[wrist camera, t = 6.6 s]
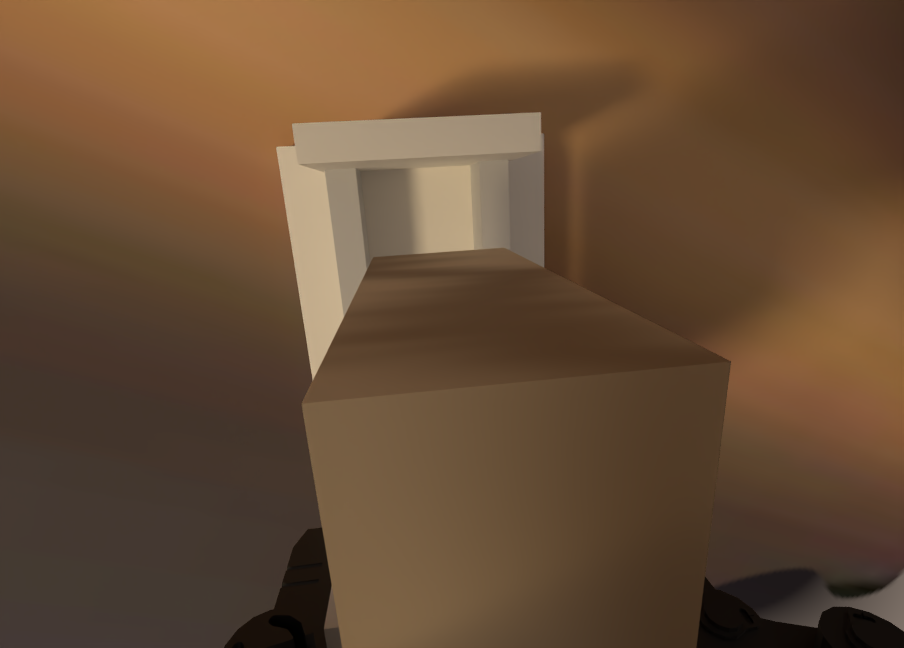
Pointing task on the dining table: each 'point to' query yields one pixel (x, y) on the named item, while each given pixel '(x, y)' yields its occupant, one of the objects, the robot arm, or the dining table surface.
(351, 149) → the track
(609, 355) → the door panel
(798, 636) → the robot arm
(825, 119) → the dining table surface
